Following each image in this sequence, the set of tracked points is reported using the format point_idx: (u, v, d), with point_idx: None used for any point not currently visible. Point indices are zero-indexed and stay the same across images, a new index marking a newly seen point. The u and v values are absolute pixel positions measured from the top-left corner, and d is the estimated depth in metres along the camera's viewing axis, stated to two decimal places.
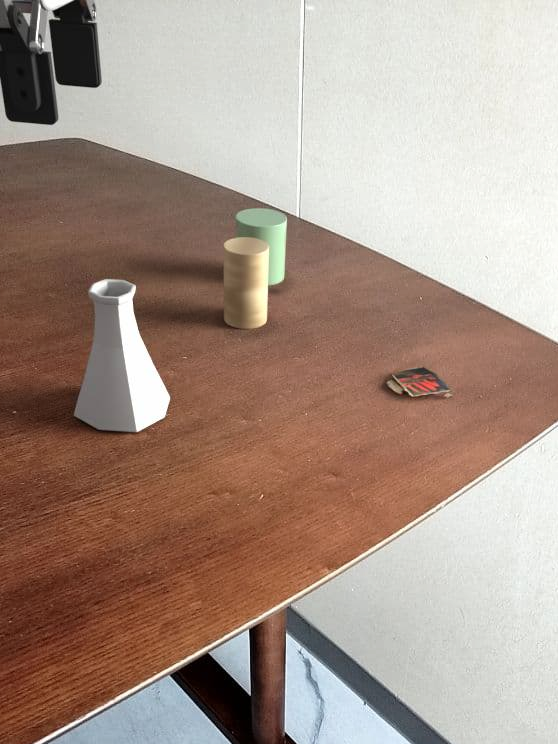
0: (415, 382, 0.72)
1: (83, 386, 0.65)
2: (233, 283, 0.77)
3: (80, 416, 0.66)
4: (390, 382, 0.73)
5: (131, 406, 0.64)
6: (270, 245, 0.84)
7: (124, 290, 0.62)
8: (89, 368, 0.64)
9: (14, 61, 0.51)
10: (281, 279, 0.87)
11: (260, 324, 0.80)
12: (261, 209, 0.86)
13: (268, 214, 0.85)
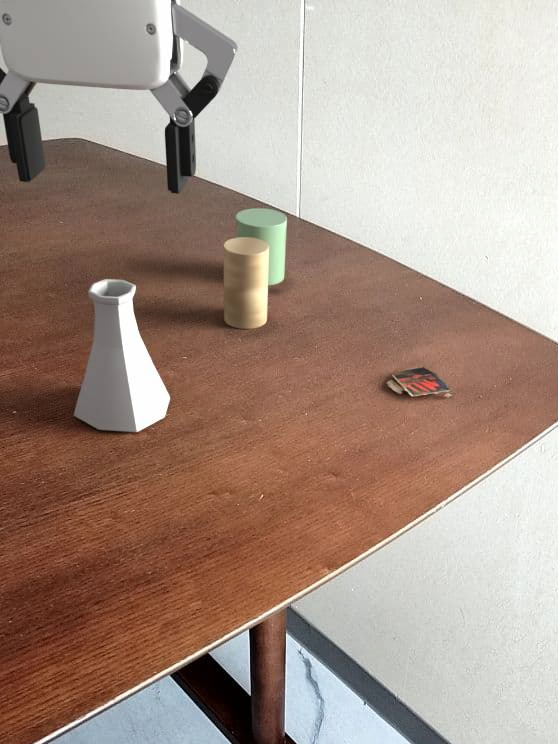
0: (415, 382, 0.72)
1: (83, 386, 0.65)
2: (233, 283, 0.77)
3: (80, 416, 0.66)
4: (390, 382, 0.73)
5: (131, 406, 0.64)
6: (270, 245, 0.84)
7: (124, 290, 0.62)
8: (89, 368, 0.64)
9: None
10: (281, 279, 0.87)
11: (260, 324, 0.80)
12: (261, 209, 0.86)
13: (268, 214, 0.85)
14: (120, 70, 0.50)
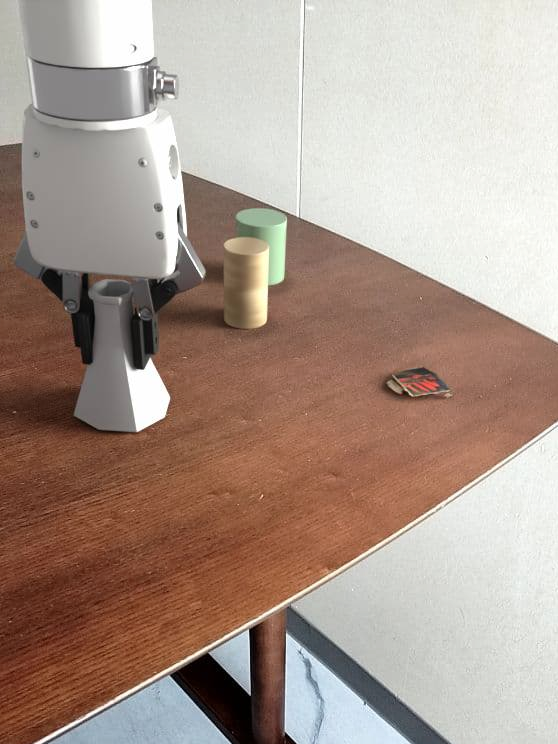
0: (415, 382, 0.72)
1: (83, 386, 0.65)
2: (233, 283, 0.77)
3: (80, 416, 0.66)
4: (390, 382, 0.73)
5: (131, 406, 0.64)
6: (270, 245, 0.84)
7: (124, 290, 0.62)
8: (89, 368, 0.64)
9: None
10: (281, 279, 0.87)
11: (260, 324, 0.80)
12: (261, 209, 0.86)
13: (268, 214, 0.85)
14: (132, 265, 0.58)
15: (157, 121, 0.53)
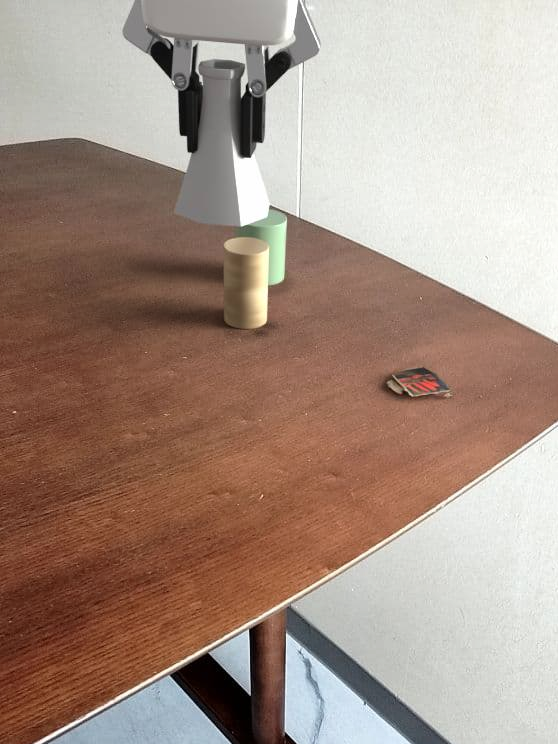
0: (415, 382, 0.72)
1: (186, 179, 0.62)
2: (233, 283, 0.77)
3: (181, 213, 0.63)
4: (390, 382, 0.73)
5: (236, 198, 0.62)
6: (270, 245, 0.84)
7: None
8: (192, 158, 0.62)
9: None
10: (281, 279, 0.87)
11: (260, 324, 0.80)
12: None
13: (268, 214, 0.85)
14: (250, 27, 0.55)
15: None
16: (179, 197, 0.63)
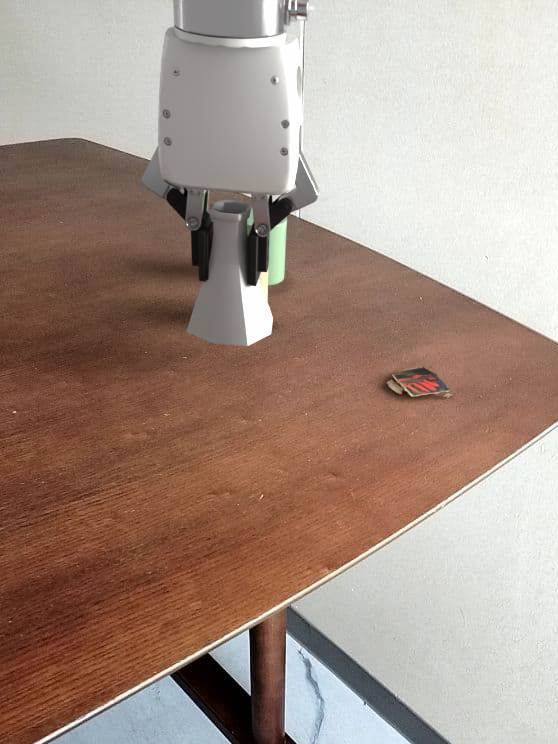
0: (415, 383, 0.72)
1: (197, 303, 0.69)
2: None
3: (193, 332, 0.70)
4: (390, 382, 0.73)
5: (243, 321, 0.69)
6: (270, 245, 0.84)
7: (240, 210, 0.67)
8: (204, 286, 0.69)
9: None
10: (281, 279, 0.87)
11: None
12: None
13: None
14: (256, 181, 0.62)
15: (288, 42, 0.58)
16: (191, 318, 0.70)
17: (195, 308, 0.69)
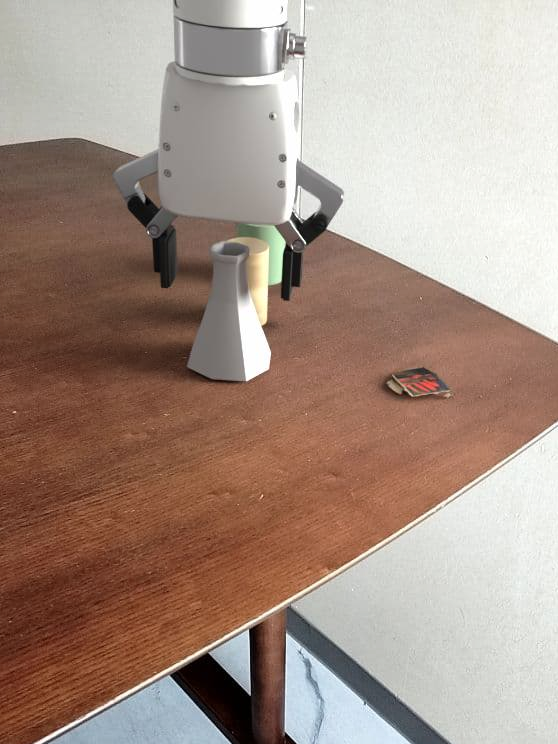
0: (415, 383, 0.72)
1: (197, 339, 0.71)
2: None
3: (193, 367, 0.72)
4: (390, 382, 0.73)
5: (242, 357, 0.71)
6: (270, 245, 0.84)
7: (239, 251, 0.69)
8: (204, 323, 0.71)
9: None
10: (281, 279, 0.87)
11: (260, 324, 0.80)
12: None
13: None
14: (253, 212, 0.64)
15: (286, 79, 0.59)
16: (192, 354, 0.72)
17: (195, 344, 0.72)
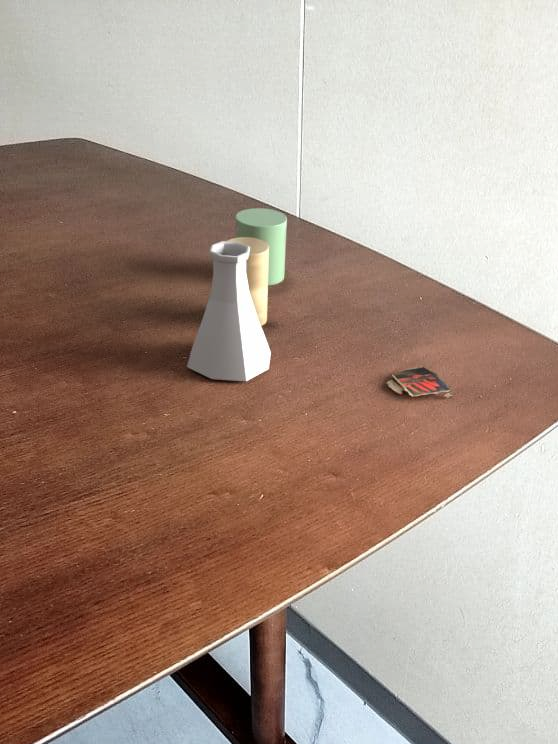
0: (415, 382, 0.72)
1: (197, 339, 0.71)
2: None
3: (193, 367, 0.72)
4: (390, 382, 0.73)
5: (242, 357, 0.71)
6: (270, 245, 0.84)
7: (239, 251, 0.69)
8: (204, 323, 0.71)
9: None
10: (281, 279, 0.87)
11: (260, 324, 0.80)
12: (261, 209, 0.86)
13: (268, 214, 0.85)
14: None
15: None
16: (192, 354, 0.72)
17: (195, 344, 0.72)
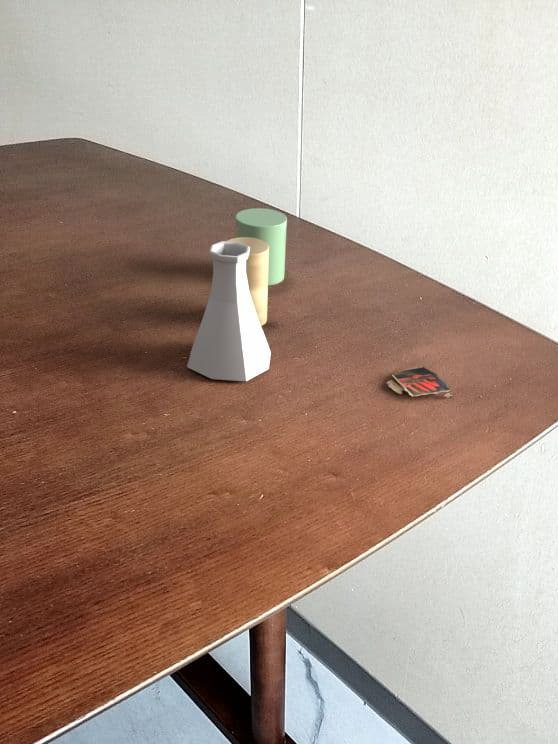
0: (415, 382, 0.72)
1: (197, 339, 0.71)
2: None
3: (193, 367, 0.72)
4: (390, 382, 0.73)
5: (242, 357, 0.71)
6: (270, 245, 0.84)
7: (239, 251, 0.69)
8: (204, 323, 0.71)
9: None
10: (281, 279, 0.87)
11: (260, 324, 0.80)
12: (261, 209, 0.86)
13: (268, 214, 0.85)
14: None
15: None
16: (192, 354, 0.72)
17: (195, 344, 0.72)
